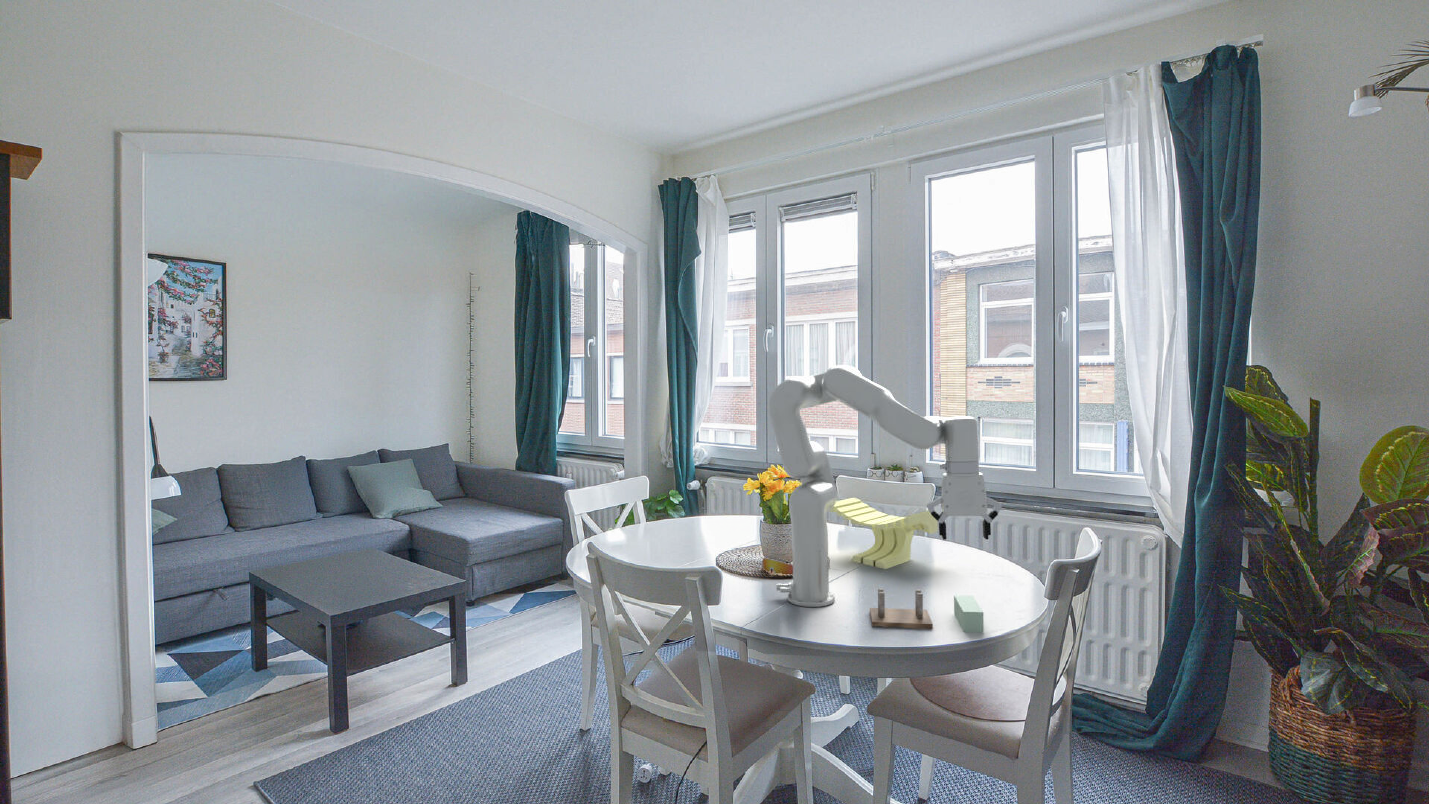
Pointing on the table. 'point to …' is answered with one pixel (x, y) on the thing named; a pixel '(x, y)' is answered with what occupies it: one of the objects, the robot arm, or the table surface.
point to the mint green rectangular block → (968, 613)
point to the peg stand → (901, 614)
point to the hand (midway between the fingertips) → (964, 538)
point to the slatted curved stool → (885, 532)
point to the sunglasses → (777, 566)
